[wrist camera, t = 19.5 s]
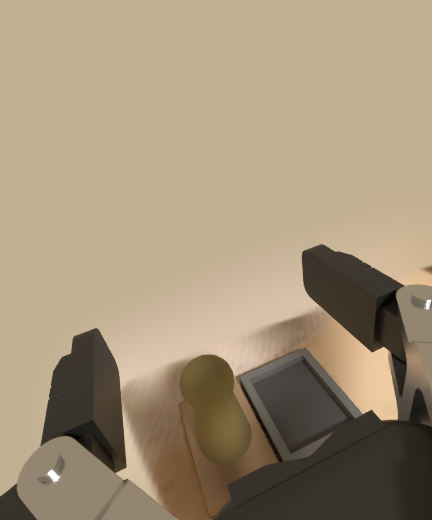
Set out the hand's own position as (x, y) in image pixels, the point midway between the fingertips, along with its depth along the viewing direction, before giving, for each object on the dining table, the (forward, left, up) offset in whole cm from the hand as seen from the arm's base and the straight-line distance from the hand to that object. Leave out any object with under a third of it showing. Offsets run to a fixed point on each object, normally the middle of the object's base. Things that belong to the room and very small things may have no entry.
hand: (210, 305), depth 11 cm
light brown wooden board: (0, -11, -28) cm, 30 cm away
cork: (0, -11, -27) cm, 29 cm away
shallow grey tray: (-9, -11, -28) cm, 31 cm away
